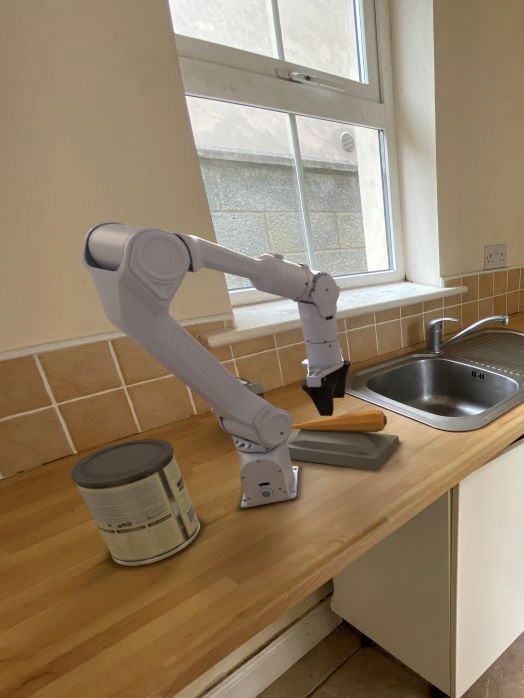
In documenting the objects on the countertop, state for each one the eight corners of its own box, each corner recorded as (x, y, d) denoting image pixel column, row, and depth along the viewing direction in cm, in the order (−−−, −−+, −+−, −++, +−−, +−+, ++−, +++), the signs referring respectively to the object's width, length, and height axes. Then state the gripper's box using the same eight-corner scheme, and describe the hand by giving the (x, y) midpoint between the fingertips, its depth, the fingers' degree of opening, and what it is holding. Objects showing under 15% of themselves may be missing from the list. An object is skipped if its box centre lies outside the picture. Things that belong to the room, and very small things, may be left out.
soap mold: (376, 470, 83) (374, 454, 81) (276, 456, 85) (273, 440, 83) (399, 442, 92) (398, 427, 90) (308, 430, 94) (306, 416, 92)
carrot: (389, 430, 91) (387, 408, 90) (383, 432, 86) (381, 409, 86) (288, 437, 90) (286, 415, 89) (277, 440, 85) (274, 417, 85)
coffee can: (103, 541, 64) (62, 459, 58) (187, 507, 72) (159, 430, 65) (121, 579, 58) (78, 492, 52) (211, 538, 66) (183, 457, 60)
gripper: (312, 326, 86) (323, 390, 92) (281, 352, 73) (297, 424, 79) (350, 327, 87) (358, 390, 93) (326, 352, 74) (338, 423, 80)
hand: (332, 405), depth 86 cm, fingers open, 7 cm apart
